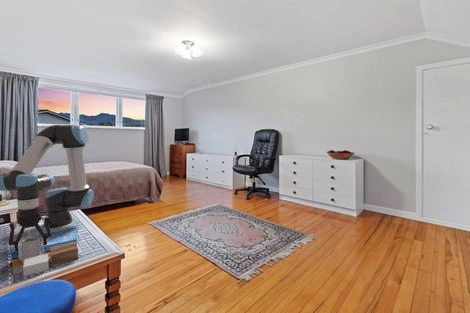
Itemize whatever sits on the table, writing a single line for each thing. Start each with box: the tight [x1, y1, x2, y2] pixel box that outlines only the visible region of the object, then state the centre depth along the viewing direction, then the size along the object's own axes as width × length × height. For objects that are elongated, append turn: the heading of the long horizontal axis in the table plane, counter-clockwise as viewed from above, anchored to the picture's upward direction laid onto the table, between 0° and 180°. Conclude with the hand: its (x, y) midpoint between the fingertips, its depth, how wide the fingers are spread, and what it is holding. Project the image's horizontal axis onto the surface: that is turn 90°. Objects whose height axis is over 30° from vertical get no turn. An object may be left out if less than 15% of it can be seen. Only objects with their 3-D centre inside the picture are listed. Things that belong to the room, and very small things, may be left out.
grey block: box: [22, 253, 50, 277], centre depth 101 cm, size 8×8×4 cm
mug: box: [20, 230, 43, 264], centre depth 110 cm, size 8×12×12 cm, turn 50°
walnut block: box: [49, 240, 79, 267], centre depth 111 cm, size 10×10×5 cm
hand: (31, 254), depth 110 cm, fingers closed on mug, 7 cm apart
